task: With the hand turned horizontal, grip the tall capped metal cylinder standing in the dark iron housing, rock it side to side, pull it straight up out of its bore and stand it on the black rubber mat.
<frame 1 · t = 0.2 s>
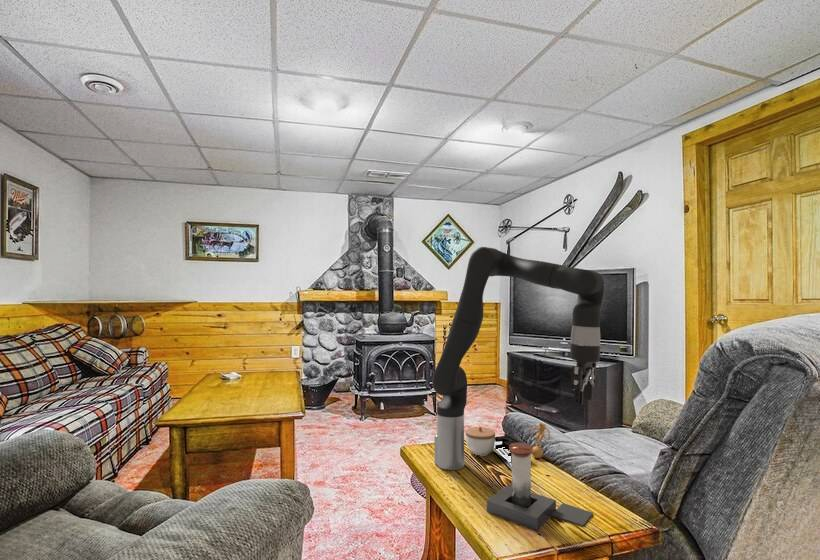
hand: (583, 402, 117), 28 cm above the table, tool pointing down, fingers open, 8 cm apart
bore housing: (521, 511, 114), on the table
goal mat: (572, 515, 112), on the table
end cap: (510, 457, 152), on the table
lidded jar: (480, 453, 156), on the table
capped metal cylinder: (521, 479, 114), in the bore housing
figurine: (539, 457, 152), on the table
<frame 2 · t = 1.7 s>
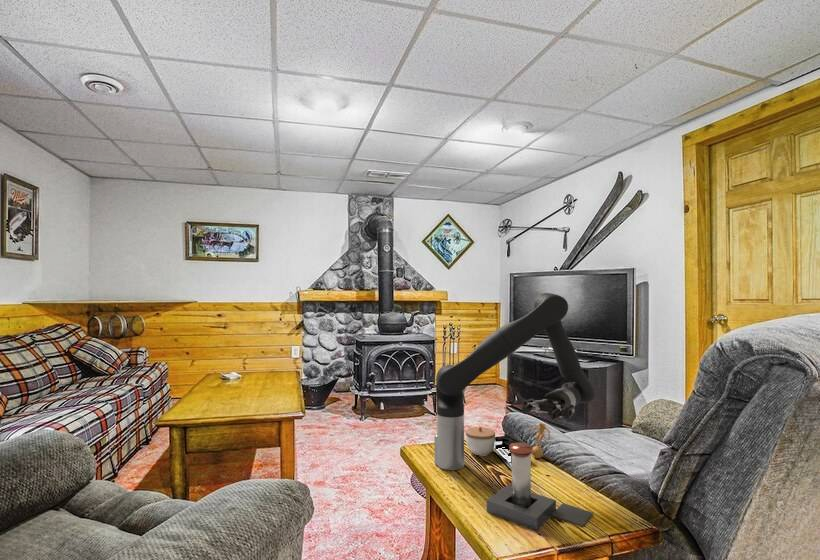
hand: (538, 413, 123), 24 cm above the table, tool horizontal, fingers open, 8 cm apart
nothing on the table moved.
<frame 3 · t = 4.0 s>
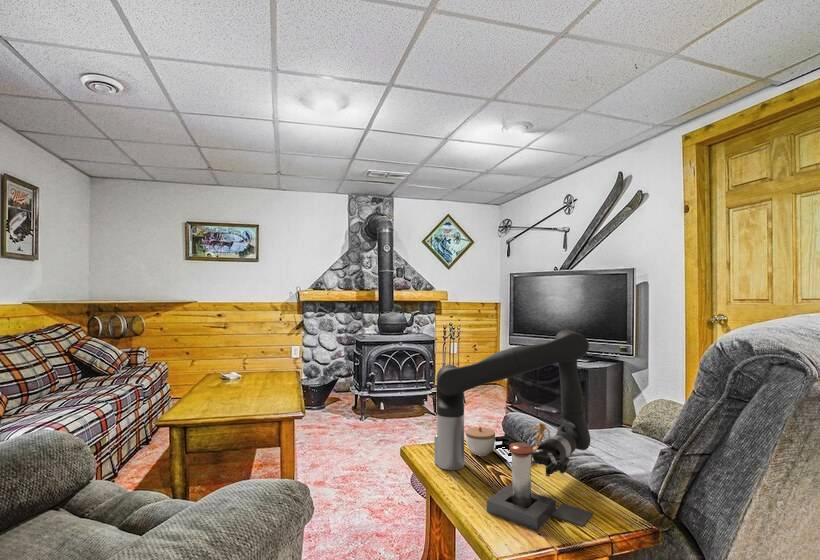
hand: (532, 467, 120), 10 cm above the table, tool horizontal, fingers open, 8 cm apart
nothing on the table moved.
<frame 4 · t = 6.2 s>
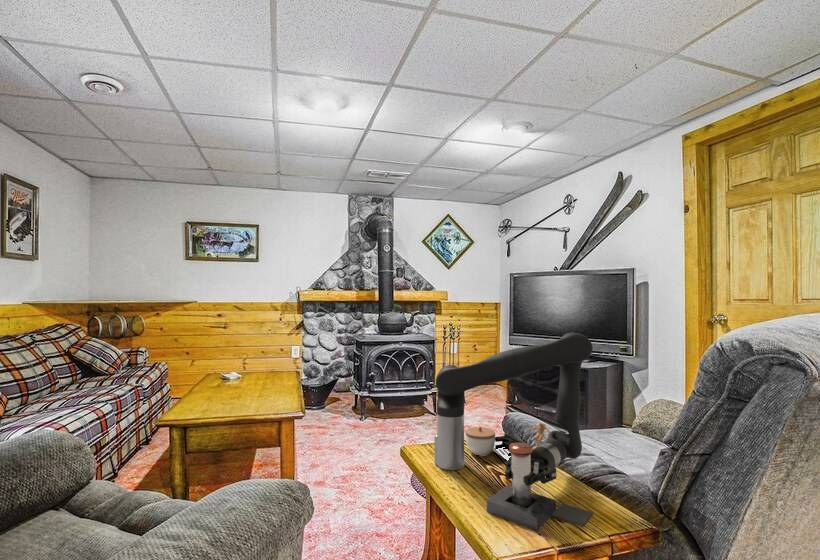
hand: (516, 478, 112), 10 cm above the table, tool horizontal, fingers closed on capped metal cylinder, 5 cm apart
capped metal cylinder: (521, 479, 114), in the bore housing, touching gripper
everything else where it was.
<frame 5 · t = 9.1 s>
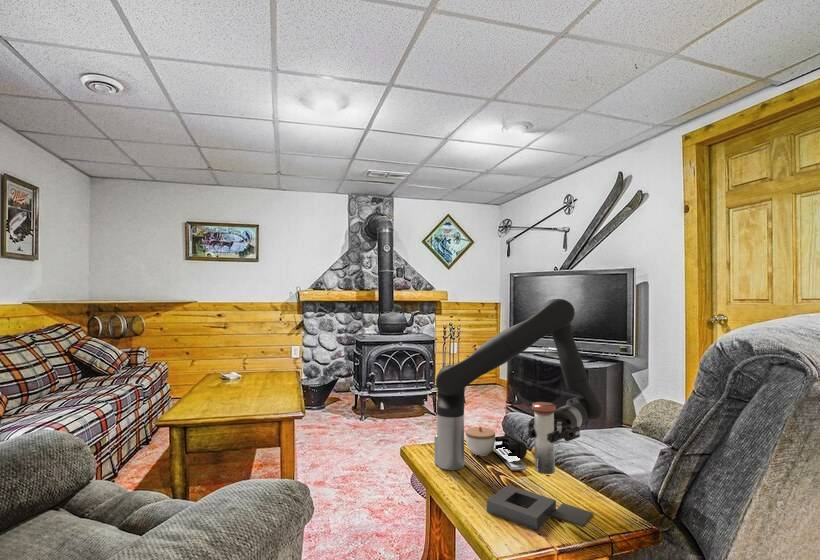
hand: (540, 436, 112), 21 cm above the table, tool horizontal, fingers closed on capped metal cylinder, 5 cm apart
capped metal cylinder: (544, 437, 114), point 20 cm above the table, touching gripper
everything else where it was.
when the fingers open (11 cm above the table, at t = 11.9 s): capped metal cylinder stays where it is, resting on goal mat.
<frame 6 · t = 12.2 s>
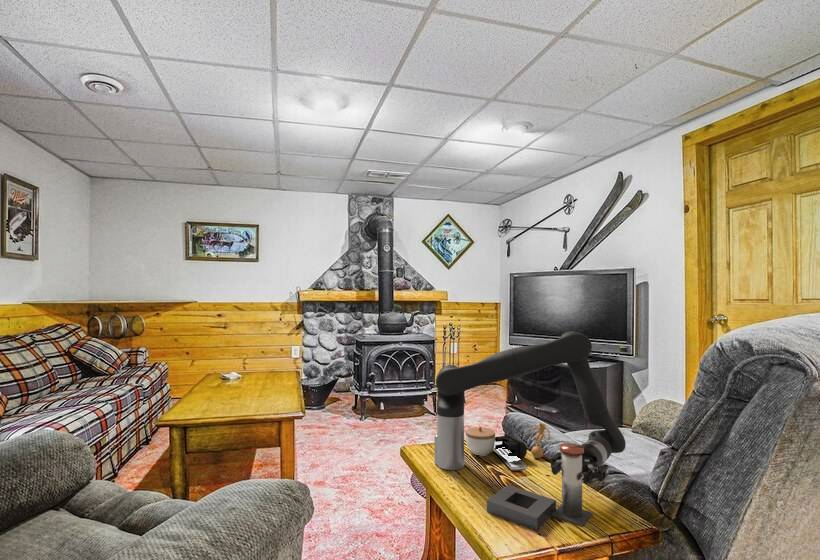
hand: (569, 475, 111), 11 cm above the table, tool horizontal, fingers open, 7 cm apart
capped metal cylinder: (572, 479, 113), on the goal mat
everything else where it was.
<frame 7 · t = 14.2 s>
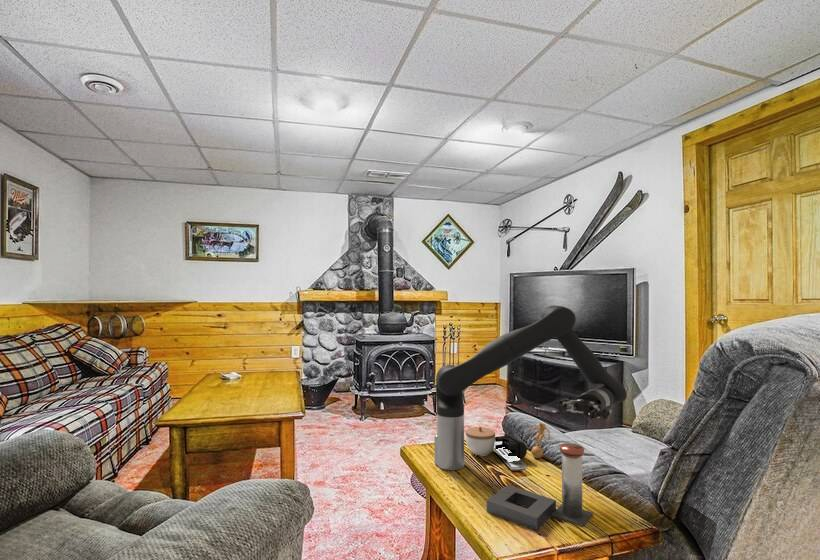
hand: (575, 412, 122), 24 cm above the table, tool horizontal, fingers open, 8 cm apart
nothing on the table moved.
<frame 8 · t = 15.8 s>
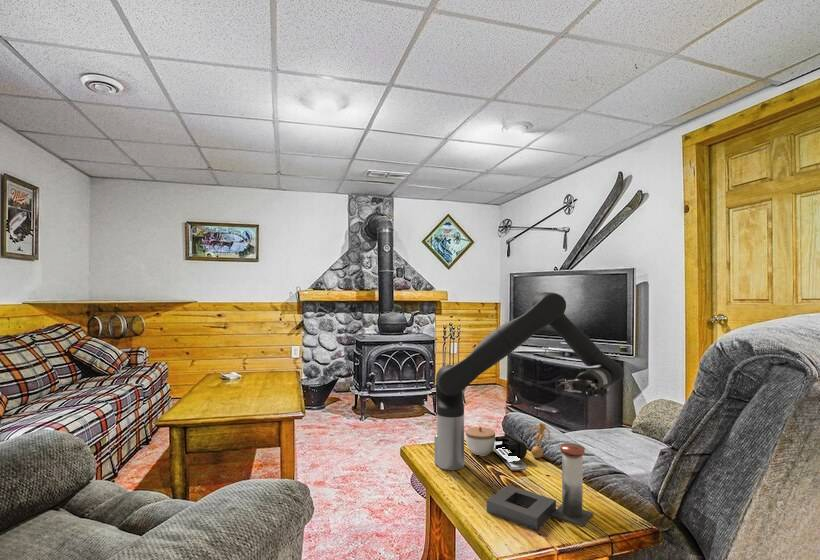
hand: (573, 391, 123), 30 cm above the table, tool horizontal, fingers open, 8 cm apart
nothing on the table moved.
at the end: capped metal cylinder inside the target area on the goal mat (0.1 cm from its centre), point 9.0 cm above the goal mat's base; capped metal cylinder tilted 1°; the gripper is holding nothing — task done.
